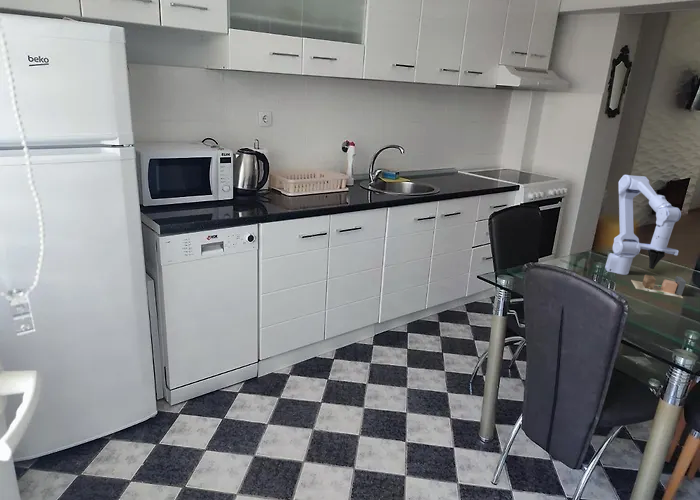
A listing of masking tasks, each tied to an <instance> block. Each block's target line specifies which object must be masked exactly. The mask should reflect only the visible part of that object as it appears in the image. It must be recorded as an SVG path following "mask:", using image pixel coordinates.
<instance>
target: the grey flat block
mask: <svg viewBox="0 0 700 500" xmlns="http://www.w3.org/2000/svg"><path fill="white" fill-rule="evenodd" d="M674 281H675V282H676V283H677V284H678V285H677V288H676V291H675V294H676V295H680V296H682V295H683V293H684V290H685V287H686V283H687V281H686V280H685V279H684V278H683V276H679V275H678V276H677V275H676V276H675V278H674ZM682 297H683V296H682Z"/></svg>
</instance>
